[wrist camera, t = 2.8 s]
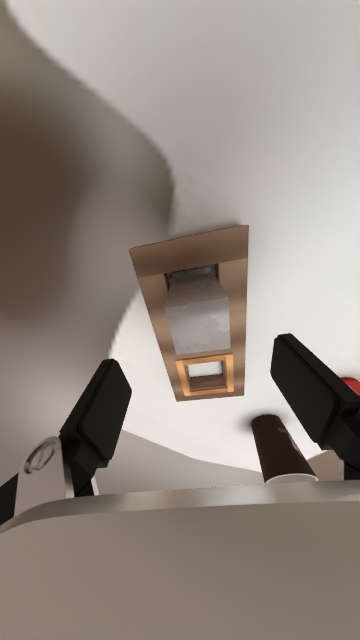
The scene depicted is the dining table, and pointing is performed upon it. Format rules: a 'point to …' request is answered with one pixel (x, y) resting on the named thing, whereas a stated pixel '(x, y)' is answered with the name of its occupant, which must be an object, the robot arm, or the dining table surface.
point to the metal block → (197, 312)
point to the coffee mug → (279, 453)
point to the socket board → (231, 273)
